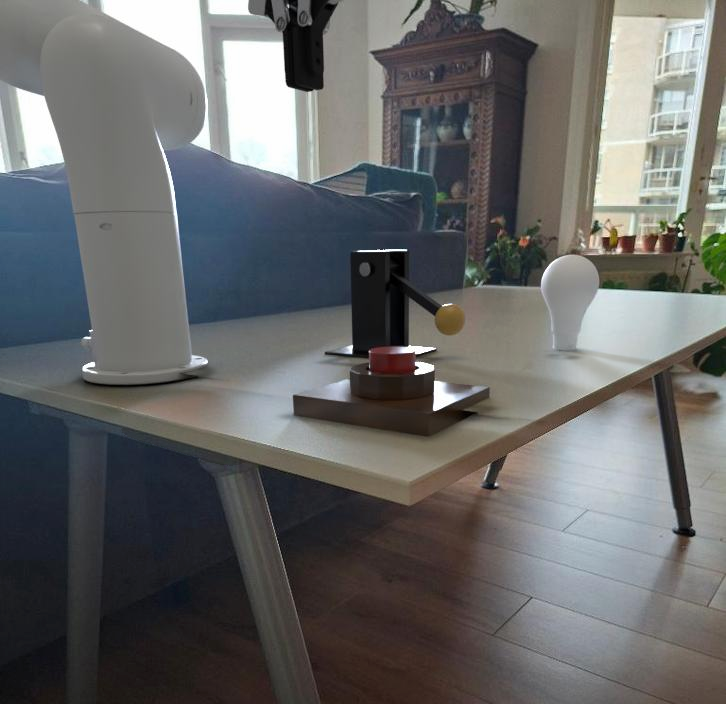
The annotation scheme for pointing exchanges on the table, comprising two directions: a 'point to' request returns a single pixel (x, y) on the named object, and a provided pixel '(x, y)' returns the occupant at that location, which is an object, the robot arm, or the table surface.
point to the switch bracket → (378, 304)
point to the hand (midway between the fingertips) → (305, 87)
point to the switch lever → (430, 304)
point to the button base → (391, 400)
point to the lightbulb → (568, 297)
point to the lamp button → (392, 359)
